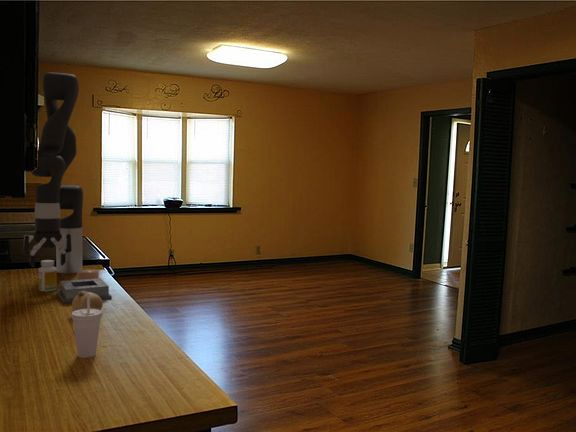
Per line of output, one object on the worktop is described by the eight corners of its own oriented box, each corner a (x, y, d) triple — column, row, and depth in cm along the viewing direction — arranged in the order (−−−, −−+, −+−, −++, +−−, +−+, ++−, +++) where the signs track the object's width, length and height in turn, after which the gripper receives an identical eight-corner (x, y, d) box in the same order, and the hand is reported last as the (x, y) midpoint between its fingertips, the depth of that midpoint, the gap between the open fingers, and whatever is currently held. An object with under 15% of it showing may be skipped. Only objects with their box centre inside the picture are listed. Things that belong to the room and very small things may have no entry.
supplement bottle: (59, 288, 176) (59, 259, 175) (51, 292, 170) (50, 262, 170) (44, 287, 176) (44, 259, 175) (35, 291, 171) (35, 261, 170)
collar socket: (56, 293, 169) (56, 281, 169) (102, 289, 177) (102, 277, 176) (63, 303, 157) (63, 290, 157) (111, 298, 165) (111, 286, 164)
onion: (85, 310, 152) (85, 285, 151) (108, 313, 149) (108, 288, 149) (65, 317, 144) (65, 291, 144) (89, 320, 142) (89, 295, 141)
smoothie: (83, 362, 112) (83, 298, 111) (64, 355, 115) (64, 293, 114) (108, 354, 117) (108, 292, 116) (89, 347, 121) (89, 288, 120)
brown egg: (75, 284, 183) (75, 270, 183) (96, 282, 187) (96, 268, 186) (79, 288, 177) (79, 273, 177) (100, 286, 181) (100, 272, 180)
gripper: (69, 215, 178) (69, 262, 179) (22, 216, 171) (22, 265, 172) (72, 217, 172) (72, 266, 173) (24, 217, 164) (24, 269, 165)
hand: (47, 265), depth 172 cm, fingers open, 8 cm apart
